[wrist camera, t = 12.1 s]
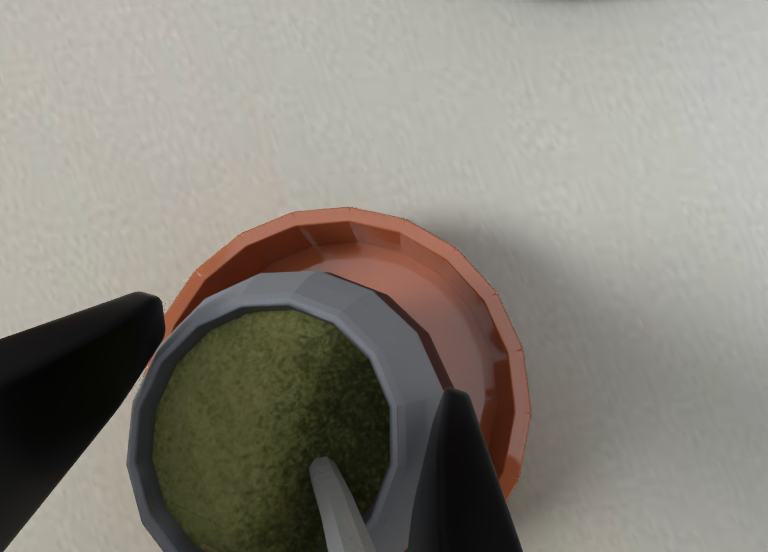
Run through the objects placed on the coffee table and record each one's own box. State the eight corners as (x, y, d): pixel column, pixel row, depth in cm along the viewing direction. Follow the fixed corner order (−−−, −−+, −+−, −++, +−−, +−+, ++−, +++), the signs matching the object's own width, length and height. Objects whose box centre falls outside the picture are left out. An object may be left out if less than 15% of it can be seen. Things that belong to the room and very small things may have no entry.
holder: (149, 509, 17) (88, 545, 13) (241, 206, 18) (206, 174, 15) (469, 604, 15) (484, 667, 12) (534, 271, 17) (562, 252, 14)
